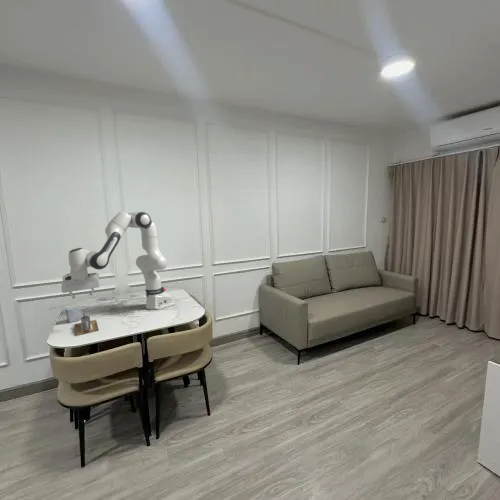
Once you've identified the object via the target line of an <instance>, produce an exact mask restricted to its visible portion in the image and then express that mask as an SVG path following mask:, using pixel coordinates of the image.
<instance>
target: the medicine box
mask: <svg viewBox="0 0 500 500" xmlns="http://www.w3.org/2000/svg"><path fill="white" fill-rule="evenodd" d="M65 314H66V321H67V323H69V324H72V323H74V322H77V321H81V317H83V313H82V308H81V307H80V306H74V307H71V308H68V309H67V308H66V309H65Z"/></svg>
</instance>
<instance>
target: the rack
mask: <svg viewBox="0 0 500 500" xmlns="http://www.w3.org/2000/svg"><path fill="white" fill-rule="evenodd" d="M84 316H88V315H87V312H84V313H82V317H84ZM90 323H91V324H90V327H91V329H89V326H88V321H85V322H84V326H85V330H84V331H83V326H82V322H79V323H75V324H74V325H75V326H74V327H75V328H74V329H75V336H76V337H77V336H82V335H85V334H89V333H90V334H91V333H94V332H98V331H99V326H98V322H97V319H92V320H90Z"/></svg>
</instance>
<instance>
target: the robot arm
mask: <svg viewBox="0 0 500 500" xmlns="http://www.w3.org/2000/svg"><path fill="white" fill-rule="evenodd" d="M128 228H131V229H132V228H134V229H139V230H140V236H141V246H142V249H143V250H144V251H145V252H146V254H143V255H139V256H137V257H136V260H135V266H137V268H138V269H139V270H140V271H141V273H142V275H143V279H144V284H145V290H144V291H145V297H146V301H145V302H146V303H145V309H147V310H157V311H158V310H162V309H165V308H169V307H172V306H176V305H177V301H176V300H175V299H174V298H173V296H172V294H171V293H169V292H167V291H166V290H167V288H166V287H164V286H162V280H161V279H162V277H161V276H160V275H159V274H158V273H157V271H163V270H165V269H166V268H167V265H168V261H167V258H166V257H165V256H164V255H163V254H162V252H161V250H160V247H159V239H158V230H157V226H156V224H155V222H154V221H153V220H152V219H151V216H150V215H149V214H148V213H146V212H145V211H135V212H129V213H127V212H125V211H120V212H118V213H117V214H116V215H115V216H114V217H112V219H111V220H110V221H109V222H108V223H107V226H106V227H105V228H104V229H105V230H104V233H105V235H106V237H107V240H106V241H105V243H104V244H103V246H102V248H101V249H100V250H99V251H92V250H88V249H84V248H83V247H76V248H72V249H71V250H69V252H68V265H69V266H70V269H69V271H70V272H69V273H67V274H65V275H63V276H62V277H61V279H62V281H61V293H63V294H65V293H68V294H69V295H70V296H71V299H76V296H75V295H74V294H73V292H79V291H83V290H89V289H91V291H90V292H89V296H91V297H92V296H93V292H94V290H95V288H99V287H100V286H101V284H100V280H99V279H100V274H99V273H97V272H90V273H88V268H93V269H94V270H99V271H100V270H104V268H106V267H107V266H108V265H109V263H110V258H111V255H112V254H113V252H114V251H115V249H116V247H117V246H118V244H119V242H120V240H121V238H122V236H124V234H125V233H126V231H127V230H128Z"/></svg>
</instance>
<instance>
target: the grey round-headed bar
mask: <svg viewBox="0 0 500 500" xmlns="http://www.w3.org/2000/svg"><path fill="white" fill-rule="evenodd" d="M80 321H81V322H80V323H82V326H83V331H84V330H85V326H84V322H85V321H88V326H89V329H91V327H90V324H91V323H90V321H91V317H90V315H87V316H84V317H83V316H82V317H81V320H80Z"/></svg>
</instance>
